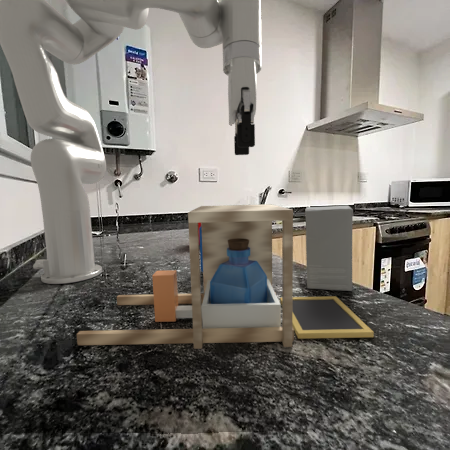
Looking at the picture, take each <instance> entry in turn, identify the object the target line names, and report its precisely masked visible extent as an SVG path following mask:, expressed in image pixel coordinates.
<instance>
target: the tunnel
mask: <svg viewBox="0 0 450 450" xmlns="http://www.w3.org/2000/svg"><path fill="white" fill-rule="evenodd" d="M187 218H188V244H189V245H188V246H189V268H190V292H191V293H190V294H191V295H192V304H191V306H192V318H191V319H192V329H193V341H194V343H193V349H195V350H198V349H203V345H204V343H203V337H202V329H203V322H202V311H201V305H202V303H201V293H202V290H201V289H202V288H201V286H202V285H201V261H200V245H199V233H198V223H201V227H202V255H203V272H202V274H203V275H202V277H203V278H202V279H203V293H205V290H206V286H207V282H208V280H211V279H212V278H213V276H214V274H215V272H216V271H217V269H218V267H219V265H220V264H222V263H224V262H226V261H228V260H229V256H227V248H229V245H228V240H229V239H237V238H242V239H248V240H249V244H248V247H249V248H250V256H248V260H253V261H257V262H258V263H259V265H260V266H261V268H262V269H263V271H264V272H265V274H266V275H267V279H269V281H270V283H271V285H272V286H273V222H275V221H276V222H278V221H279V222H280V221H282V222H281V223H282V227H281V228H282V231H281V232H282V238H281V239H282V244H281V245H282V251H281V252H282V256H281V257H282V262H281V263H282V264H281V265H282V266H281V268H282V271H281V272H282V275H281V276H282V279H281V281H282V284H281V285H282V289H281V290H282V291H281V293H282V294H281V295H282V296H281V297H282V304H281V306H282V307H281V312H282V313H281V314H282V315H281V316H282V317H281V319H282V320H281V321H282V323H281V325H282V326H281V327H282V343H281V344H282V346H283V348H293V341H292V311H293V297H294V296H293V294H294V293H293V292H294V290H293V289H294V288H293V284H294V282H293V280H294V279H293V278H294V269H293V268H294V263H293V262H294V259H293V258H294V209H291V208H288V207H284V206H280V205H276V204H271V203H269V204H268V203H267V204H265V203H263V204H233V205H232V204H229V205H227V204H226V205H201V206H198V207H196V208H193V209H192V210H190V211H189V212H187Z"/></svg>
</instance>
